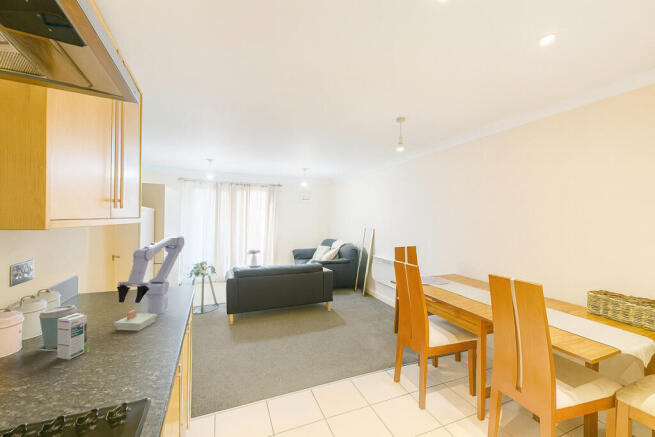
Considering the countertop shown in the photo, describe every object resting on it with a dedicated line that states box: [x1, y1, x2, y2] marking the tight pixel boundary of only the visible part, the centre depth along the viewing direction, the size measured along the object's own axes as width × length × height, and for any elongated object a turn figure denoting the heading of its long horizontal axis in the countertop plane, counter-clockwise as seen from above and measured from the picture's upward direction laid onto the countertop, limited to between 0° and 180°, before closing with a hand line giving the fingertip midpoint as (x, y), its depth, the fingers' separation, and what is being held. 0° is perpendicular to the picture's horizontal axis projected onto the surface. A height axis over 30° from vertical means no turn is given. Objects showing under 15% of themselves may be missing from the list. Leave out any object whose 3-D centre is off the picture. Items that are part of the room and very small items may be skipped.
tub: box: [116, 318, 156, 332], centre depth 121 cm, size 10×10×4 cm
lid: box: [114, 308, 158, 327], centre depth 121 cm, size 11×11×5 cm
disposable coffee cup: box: [38, 304, 78, 350], centre depth 102 cm, size 11×11×15 cm
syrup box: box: [57, 312, 88, 361], centre depth 96 cm, size 6×6×14 cm
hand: (129, 302), depth 119 cm, fingers open, 7 cm apart
